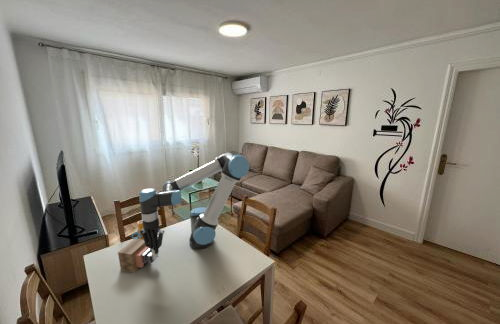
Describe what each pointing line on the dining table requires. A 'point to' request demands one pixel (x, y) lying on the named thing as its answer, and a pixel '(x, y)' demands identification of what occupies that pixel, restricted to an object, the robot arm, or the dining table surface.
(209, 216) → the robot arm
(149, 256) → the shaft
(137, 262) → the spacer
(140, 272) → the dining table surface
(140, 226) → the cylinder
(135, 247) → the block
